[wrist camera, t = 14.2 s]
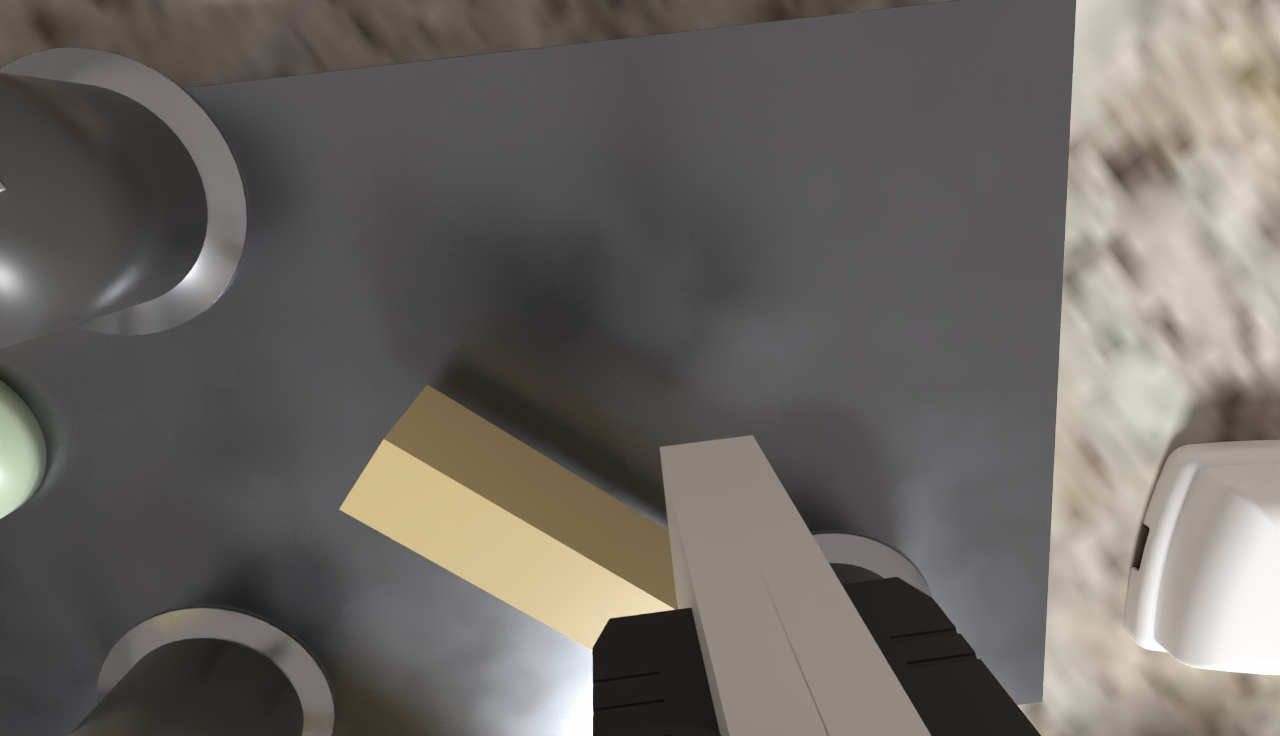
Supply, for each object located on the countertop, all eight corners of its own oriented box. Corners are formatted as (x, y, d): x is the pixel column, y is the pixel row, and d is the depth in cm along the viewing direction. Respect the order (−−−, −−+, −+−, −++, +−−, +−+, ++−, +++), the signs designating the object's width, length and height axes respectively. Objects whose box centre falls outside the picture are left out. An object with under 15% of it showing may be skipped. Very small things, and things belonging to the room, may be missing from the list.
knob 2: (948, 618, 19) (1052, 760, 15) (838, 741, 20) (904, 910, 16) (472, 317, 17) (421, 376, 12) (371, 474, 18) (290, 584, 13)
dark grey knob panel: (79, 766, 22) (26, 826, 20) (-185, 95, 17) (-291, 86, 15) (1005, 655, 22) (1044, 704, 20) (1026, -42, 17) (1082, -68, 15)
